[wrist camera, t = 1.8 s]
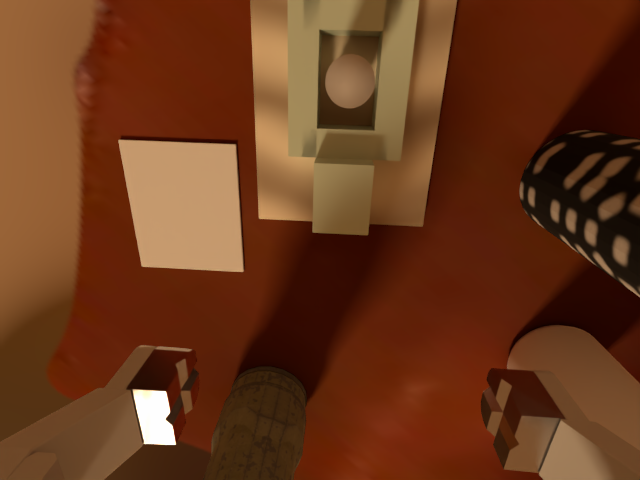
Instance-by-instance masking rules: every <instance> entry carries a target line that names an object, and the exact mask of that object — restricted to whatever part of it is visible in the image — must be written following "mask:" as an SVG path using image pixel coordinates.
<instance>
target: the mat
mask: <svg viewBox="0 0 640 480" xmlns="http://www.w3.org/2000/svg"><path fill="white" fill-rule="evenodd" d="M118 141H119V147H120V152H121V157H122V163H123V168H124V173H125V179H126V184H127V190H128V195H129V200H130V206H131V211H132V216H133V222H134V227H135V232H136V238H137V243H138V249H139V254H140V259H141V265H142V267H160V268H179V269H197V270H215V271H234V272H244V260H243V243H242V227H241V210H240V194H239V177H238V161H237V144H222V143H196V142H171V141H146V140H121V139H120V140H118Z"/></svg>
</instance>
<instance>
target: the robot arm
mask: <svg viewBox="0 0 640 480" xmlns="http://www.w3.org/2000/svg"><path fill="white" fill-rule="evenodd" d="M196 362H197V357H196V351H194V350H193V349H183V348H172V347H160V346H159V347H156V346H145V345H141V346H139V347H137V348H136V349H135V350H134V351H133V353H132V354H131V355H130V356H129V358H128V359H127V360H126V361H125V363H124V364H123V365H122V366H121V368H120V369H119V370H118V372H117V373H116V374H115V375H114V377H113V378H112V379H111V380H110V382H109V383H108V384H107V385H106V387H105V388H98V389H96V390H94V391H92V392H90V393H88V394H87V395H85V396H83V397H81V398H79V399H78V400H76V401H74V402H72V403H70V404H68V405H67V406H65V407H63V408H61V409H59V410H58V411H56V412H54V413H52V414H50V415H48V416H47V417H45V418H43V419H41V420H39V421H38V422H36V423H34V424H32V425H30V426H29V427H27V428H25V429H23V430H21V431H19V432H18V433H16V434H14V435H12V436H10V437H8V438H7V439H5V440H3V441H1V442H0V480H104V479H105V478H106V477H107V476H108V475H110V474H111V473H112V472H113V471H114V470H115V469H116V468H118V467H119V466H120V465H121V464H122V463H123V462H124V461H125V460H127V459H128V458H129V457H130V456H131V455H133V453H135V452H136V451H137V450H138V449H139V448H141V447H142V446H143V443H146V444H168V445H176V443H177V441H178V439H179V437H180V434H181V432H182V430H183V428H184V426H185V424H186V419H185V414H186V413H187V412H189V411H190V410H191V409H193V407H194V404H195V402H196V400H197V396H198V391H199V382H200V380H199V373H198V372H197V371H196V370H195V369H194V366H195V364H196ZM487 382H488V384H489V386H490V387H489V388H488V389H486V390H485V391H484V392H483V395H482V399H481V413H482V417H483V421H484V424H485V426H486V429H487V430H488V431H489V432H491V433H492V434H493V435H494V436H495V440H494V444H493V445H494V448H495V450H496V452H497V455H498V457H499V459H500V462H501V464H502V466H503V469H507V470H517V471H526V472H536V473H539V475H540V476H541V477H542V478H543V479H544V480H640V450H638V449H637V448H635V447H634V446H632V445H631V444H629V443H628V442H626V441H625V440H623V439H621V438H620V437H618V436H617V435H615V434H614V433H612V432H611V431H609V430H608V429H606V428H605V427H603V426H602V425H600V424H599V423H597V422H592V421H589V420H588V418H587V417H586V416H585V414H584V413H583V412H582V410H581V409H580V408H579V406H578V405H577V404H576V402H575V401H574V400H573V398H572V397H571V396H570V394H569V393H568V392H567V390H566V389H565V388H564V386H563V385H562V384H561V382H560V381H559V380H558V378H557V377H556V376H555V374H554V373H552V372H550V371H541V370H514V369H497V368H492V369H491V370H490V371H489V373H488V376H487Z"/></svg>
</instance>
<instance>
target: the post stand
mask: <svg viewBox="0 0 640 480" xmlns="http://www.w3.org/2000/svg"><path fill="white" fill-rule="evenodd" d="M456 4H457V0H419V7H418V15H417V24H416V32H415V41H414V49H413V58H412V66H411V75H410V83H409V92H408V100H407V109H406V117H405V126H404V135H403V143H402V152H401V160H400V161H388V160H372V161H373V164H374V175H373V186H372V197H371V208H370V220H369V224H380V225H401V226H421V227H423V221H424V214H425V208H426V201H427V194H428V188H429V181H430V175H431V168H432V162H433V155H434V149H435V142H436V135H437V129H438V122H439V116H440V109H441V103H442V96H443V89H444V83H445V76H446V70H447V63H448V57H449V50H450V43H451V37H452V30H453V24H454V17H455V11H456ZM250 5H251V30H252V55H253V80H254V106H255V131H256V156H257V181H258V206H259V219H277V220H297V221H313V185H314V162H315V159H316V158H315V157H291V156H288V0H250ZM378 41H379V37H370V36H333V35H322V48H321V84H320V121H319V124H330V125H357V126H372V114H373V102H374V90H375V78H376V66H377V53H378Z"/></svg>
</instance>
